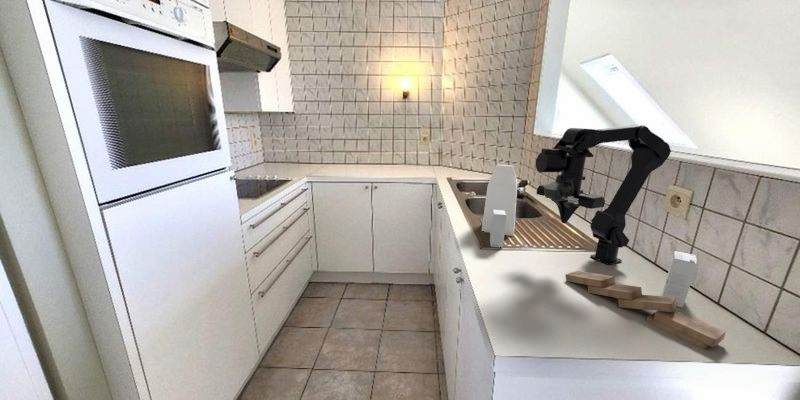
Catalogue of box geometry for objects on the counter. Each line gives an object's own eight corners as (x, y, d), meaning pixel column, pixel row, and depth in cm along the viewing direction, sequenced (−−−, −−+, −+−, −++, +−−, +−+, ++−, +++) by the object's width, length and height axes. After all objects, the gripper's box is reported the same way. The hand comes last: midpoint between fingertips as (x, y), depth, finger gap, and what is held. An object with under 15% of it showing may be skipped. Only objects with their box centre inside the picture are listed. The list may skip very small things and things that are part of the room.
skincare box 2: (661, 292, 83) (672, 249, 80) (684, 298, 80) (696, 254, 77) (660, 302, 78) (672, 257, 75) (684, 309, 76) (697, 263, 73)
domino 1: (576, 270, 90) (613, 276, 81) (577, 277, 90) (614, 283, 81) (565, 274, 88) (602, 280, 79) (566, 280, 88) (602, 287, 79)
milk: (481, 231, 125) (487, 166, 118) (485, 222, 135) (490, 162, 129) (513, 235, 121) (521, 168, 114) (514, 226, 131) (521, 164, 124)
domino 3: (623, 293, 79) (675, 296, 71) (624, 300, 79) (677, 304, 71) (617, 299, 76) (671, 303, 68) (619, 307, 76) (673, 312, 68)
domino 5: (666, 306, 72) (725, 331, 63) (664, 313, 72) (723, 339, 64) (655, 312, 69) (715, 339, 61) (653, 319, 70) (713, 347, 61)
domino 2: (597, 280, 85) (641, 287, 76) (598, 287, 85) (642, 294, 76) (587, 285, 82) (631, 292, 74) (588, 292, 82) (632, 300, 74)
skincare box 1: (503, 248, 109) (506, 215, 106) (490, 246, 110) (493, 214, 107) (501, 241, 115) (504, 210, 112) (489, 240, 116) (492, 209, 113)
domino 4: (657, 310, 73) (715, 336, 65) (655, 317, 73) (713, 343, 65) (647, 317, 71) (705, 344, 62) (645, 324, 71) (703, 352, 63)
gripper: (526, 168, 97) (520, 217, 101) (583, 180, 81) (574, 237, 85) (552, 167, 101) (545, 213, 105) (611, 177, 85) (600, 231, 89)
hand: (563, 222), depth 96 cm, fingers closed
